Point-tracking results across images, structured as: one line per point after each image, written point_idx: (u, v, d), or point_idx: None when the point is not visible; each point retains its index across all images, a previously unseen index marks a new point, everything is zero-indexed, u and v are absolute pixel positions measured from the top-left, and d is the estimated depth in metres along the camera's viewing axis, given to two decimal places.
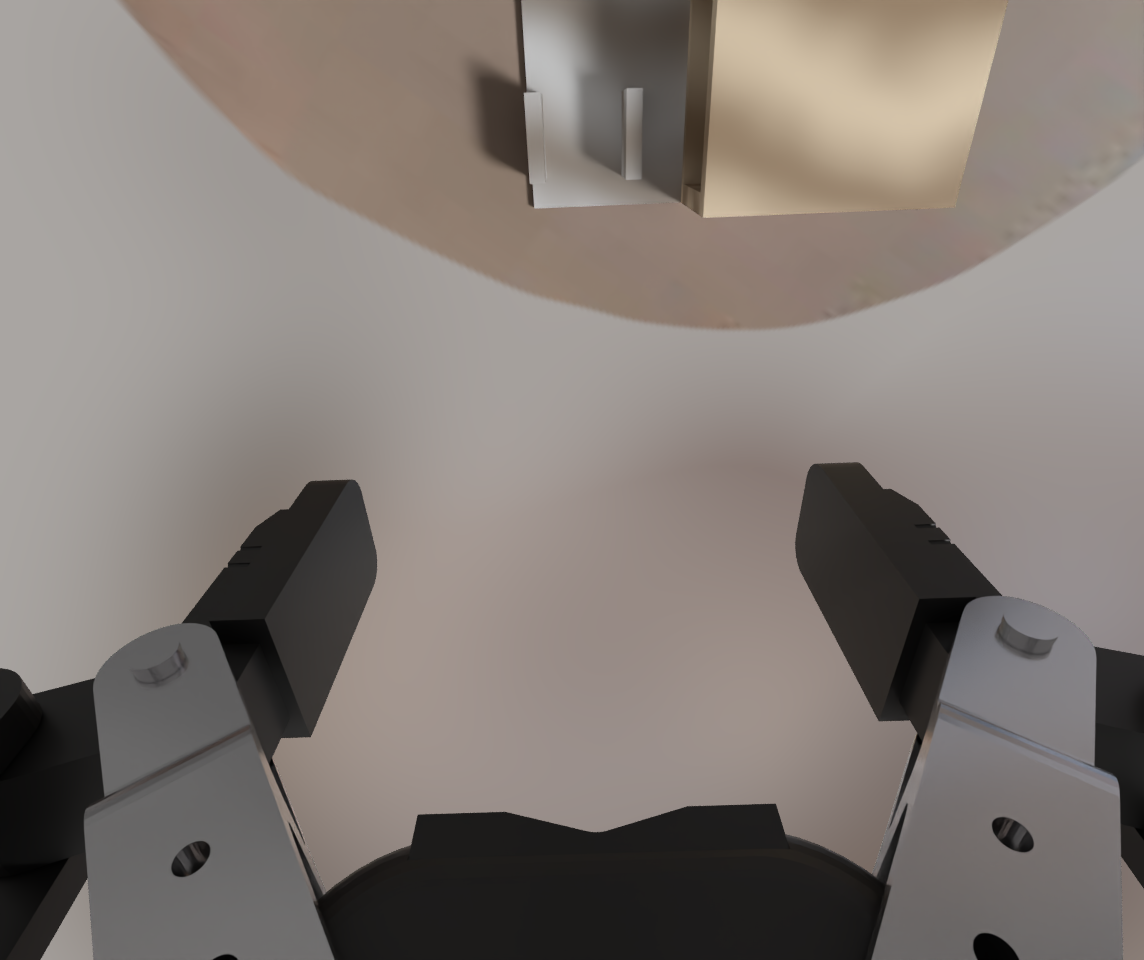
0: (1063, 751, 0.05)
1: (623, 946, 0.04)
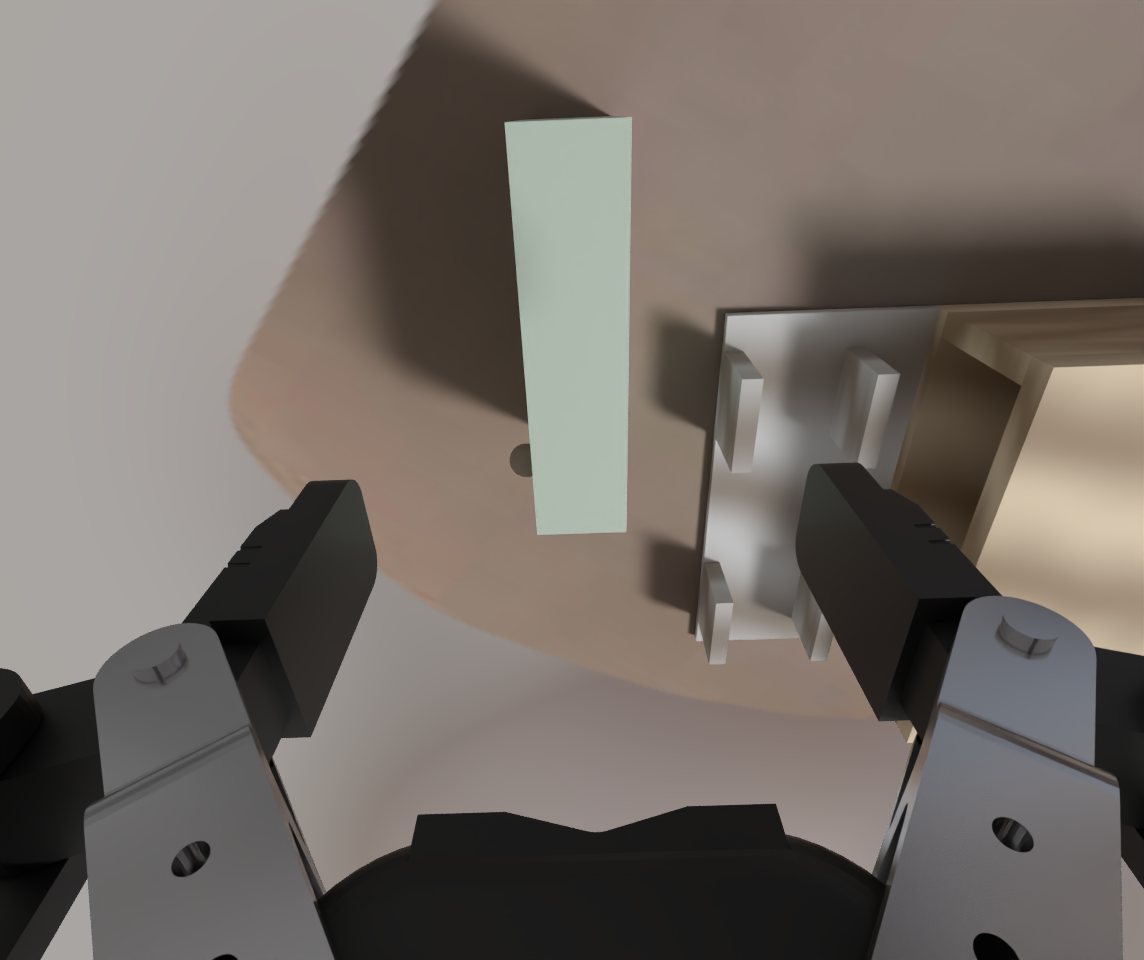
0: (1063, 751, 0.05)
1: (623, 946, 0.04)
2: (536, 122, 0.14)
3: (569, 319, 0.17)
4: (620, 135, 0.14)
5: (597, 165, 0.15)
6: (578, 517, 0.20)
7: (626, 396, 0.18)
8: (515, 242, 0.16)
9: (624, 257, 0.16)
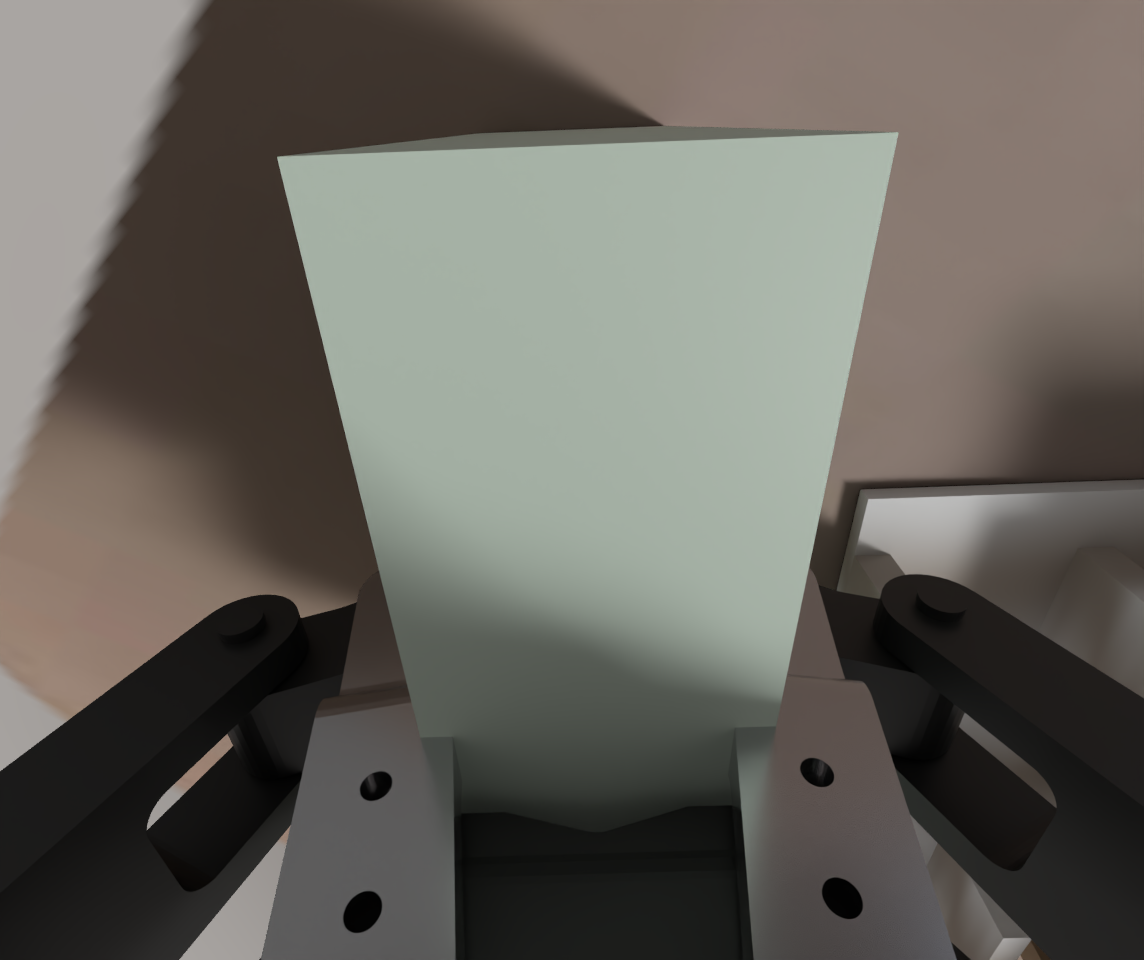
0: (820, 672, 0.06)
1: (623, 946, 0.04)
2: (433, 157, 0.03)
3: (581, 762, 0.05)
4: (826, 215, 0.03)
5: (710, 339, 0.03)
6: None
7: None
8: (386, 587, 0.04)
9: (778, 622, 0.05)
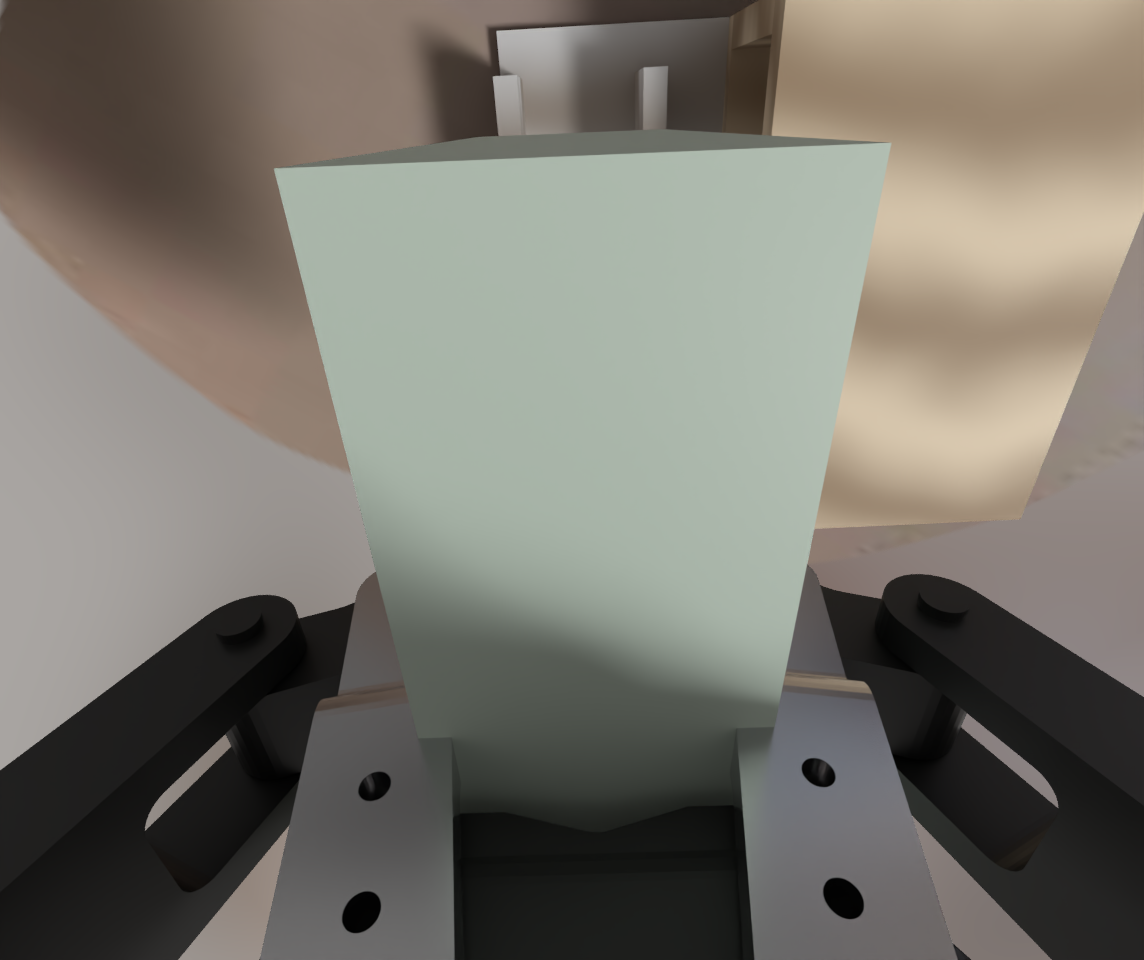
0: (822, 672, 0.06)
1: (623, 946, 0.04)
2: (430, 168, 0.03)
3: (579, 765, 0.05)
4: (821, 224, 0.03)
5: (707, 349, 0.03)
6: None
7: None
8: (385, 594, 0.04)
9: (775, 628, 0.05)
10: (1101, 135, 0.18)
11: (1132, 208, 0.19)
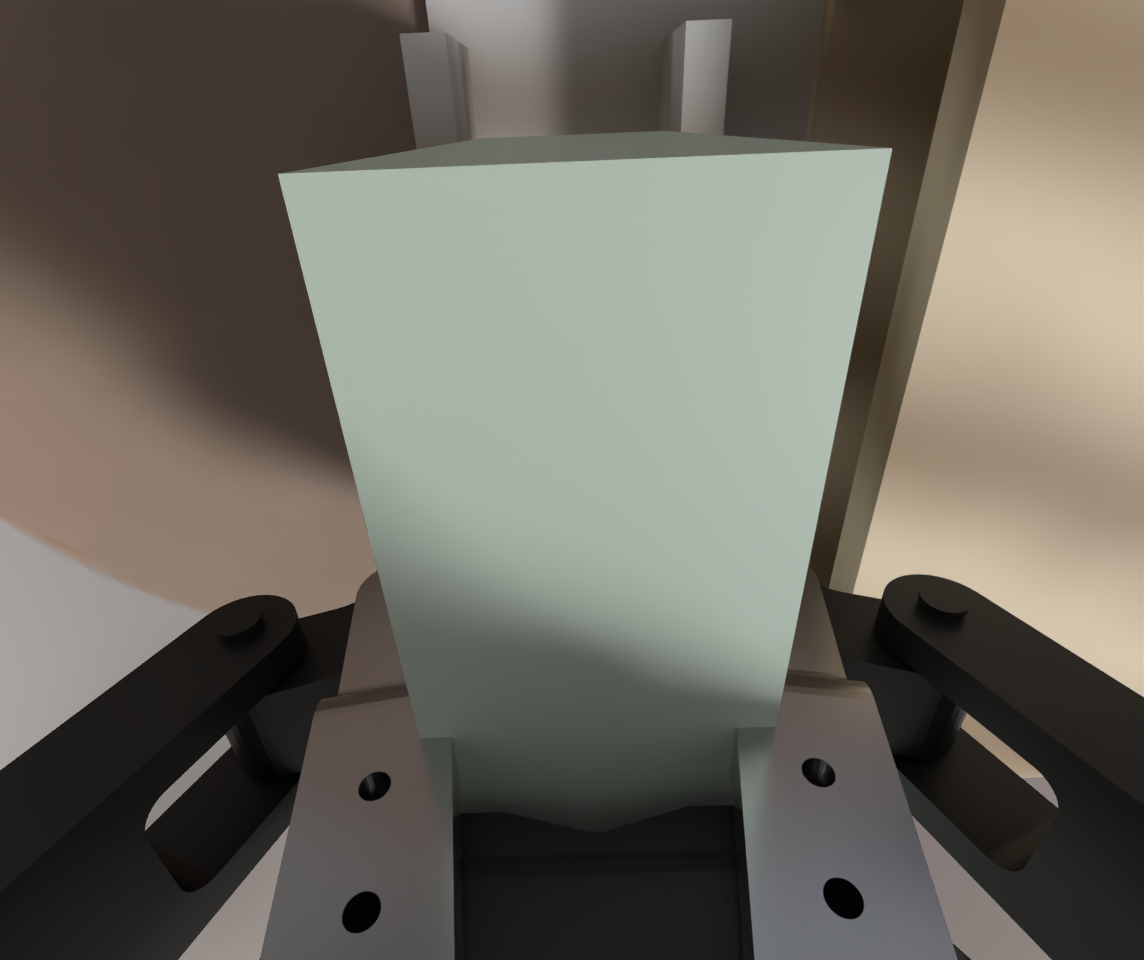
0: (822, 672, 0.06)
1: (623, 946, 0.04)
2: (433, 173, 0.03)
3: (581, 766, 0.05)
4: (822, 229, 0.03)
5: (707, 351, 0.03)
6: None
7: None
8: (387, 596, 0.04)
9: (776, 629, 0.05)
10: None
11: None
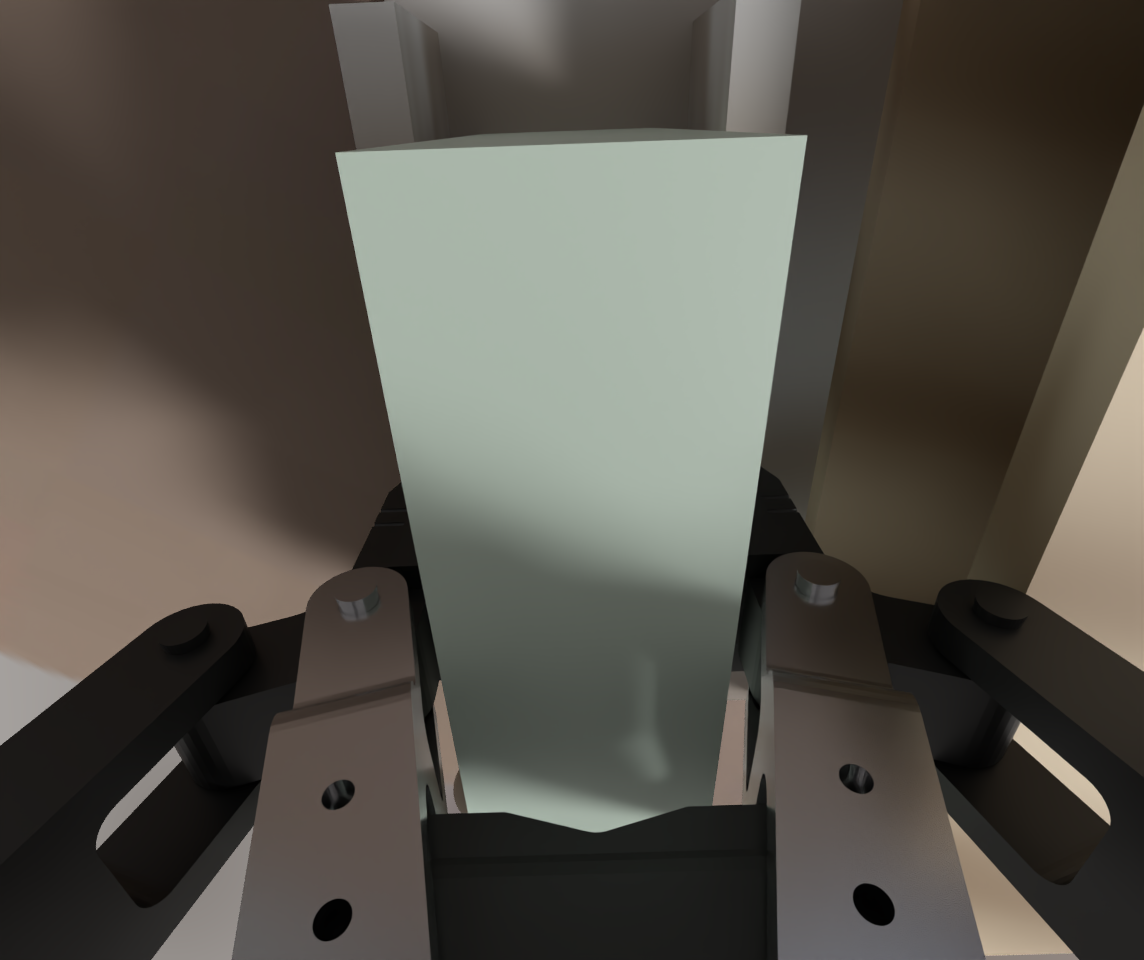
0: (868, 681, 0.06)
1: (623, 946, 0.04)
2: (454, 153, 0.04)
3: (571, 669, 0.06)
4: (757, 198, 0.04)
5: (671, 298, 0.04)
6: None
7: (708, 801, 0.07)
8: (409, 507, 0.05)
9: (733, 541, 0.05)
10: None
11: None
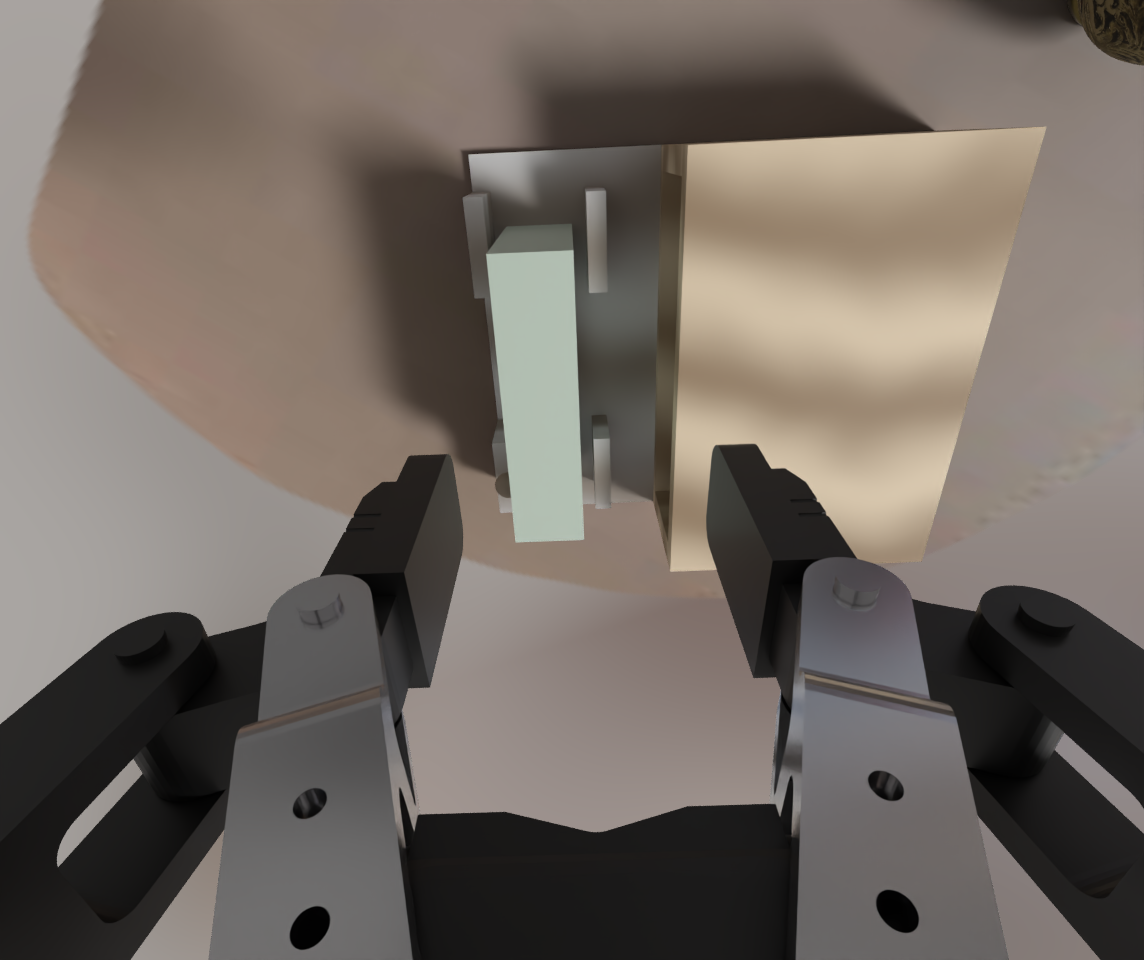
0: (904, 690, 0.06)
1: (623, 947, 0.04)
2: (508, 253, 0.21)
3: (534, 383, 0.23)
4: (565, 261, 0.21)
5: (551, 281, 0.21)
6: (546, 528, 0.26)
7: (578, 437, 0.24)
8: (495, 331, 0.22)
9: (572, 341, 0.22)
10: (950, 255, 0.22)
11: (983, 310, 0.23)
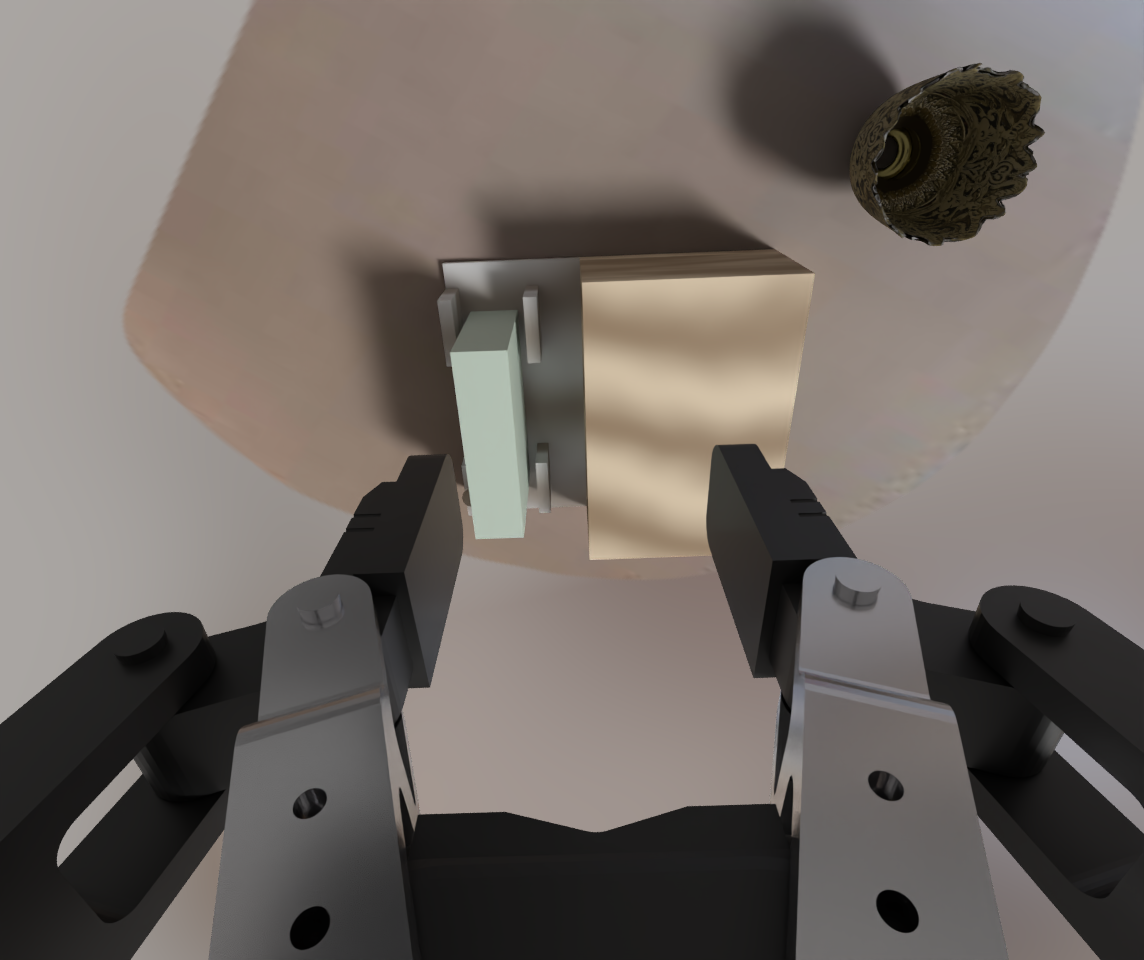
0: (904, 690, 0.06)
1: (624, 946, 0.04)
2: (464, 352, 0.32)
3: (485, 433, 0.34)
4: (502, 357, 0.32)
5: (493, 369, 0.32)
6: (497, 529, 0.38)
7: (516, 468, 0.35)
8: (457, 400, 0.33)
9: (509, 406, 0.33)
10: (763, 350, 0.33)
11: (790, 385, 0.34)
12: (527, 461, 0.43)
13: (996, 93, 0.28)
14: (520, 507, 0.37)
